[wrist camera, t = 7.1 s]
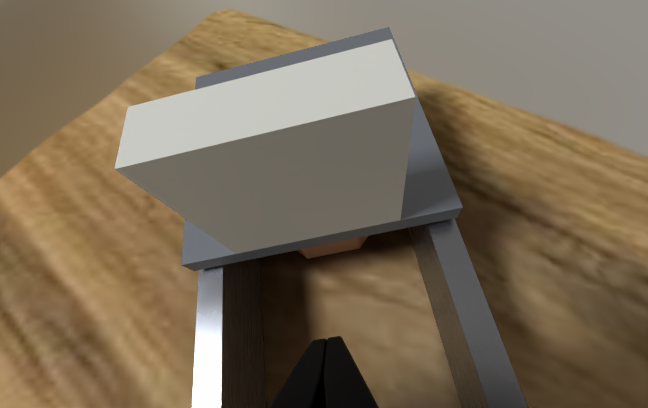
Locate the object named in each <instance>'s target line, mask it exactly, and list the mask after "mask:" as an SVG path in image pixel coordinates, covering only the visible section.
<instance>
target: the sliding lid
mask: <svg viewBox="0 0 648 408" xmlns="http://www.w3.org/2000/svg"><path fill="white" fill-rule="evenodd" d="M115 170H117V171H118V172H119V173H121V174H122V175H124V176H125V177H127V178H128V179H129V180H131V181H132V182H134V183H135V184H137V185H138V186H140V187H141V188H142V189H144V190H145V191H147V192H148V193H150V194H151V195H152V196H154V197H155V198H157V199H158V200H160V201H161V202H162V203H164V204H165V205H167V206H168V207H170V208H171V209H173V210H174V211H175V212H177V213H178V214H180V215H181V216H183V217H184V218H185V225H184V238H183V251H182V263H181V265H182V266H184V267H187V268H189V269H191V270H193V271H196V270H201V269H206V268H211V267H216V266H221V265H226V264H231V263H236V262H240V261H245V260H250V259H255V258H260V257H265V256H270V255H275V254H280V253H285V252H290V251H295V250H300V249H305V248H310V247H315V246H319V245H324V244H329V243H334V242H339V241H344V240H349V239H354V238H359V237H364V236H369V235H374V234H379V233H384V232H389V231H394V230H398V229H403V228H408V227H413V226H418V225H423V224H428V223H433V222H438V221H443V220H448V219H453V218H458V216H459V214H460V212H461V210H462V208H463V206H462V204H461V201H460V199H459V196H458V194H457V191H456V189H455V187H454V184H453V182H452V179H451V177H450V174H449V172H448V170H447V167H446V165H445V162H444V160H443V157H442V155H441V153H440V150H439V148H438V145H437V143H436V140H435V138H434V136H433V133H432V131H431V128H430V126H429V123H428V121H427V119H426V116H425V114H424V111H423V109H422V106H421V104H420V102H419V99H418V97H417V94H416V92H415V89H414V87H413V85H412V82H411V80H410V77H409V75H408V72H407V70H406V68H405V65H404V63H403V60H402V58H401V55H400V53H399V51H398V48H397V46H396V43H395V41H394V38H393V36H392V34H391V31H390V29H389V27H388V28H384V29H380V30H376V31H372V32H368V33H365V34H361V35H357V36H354V37H349V38H346V39H342V40H338V41H334V42H330V43H326V44H323V45H319V46H315V47H311V48H307V49H303V50H300V51H296V52H292V53H288V54H284V55H281V56H277V57H273V58H269V59H265V60H261V61H258V62H254V63H250V64H246V65H242V66H239V67H235V68H231V69H227V70H223V71H219V72H216V73H212V74H208V75H204V76H200V77H197V78H196V86H195V90H192V91H189V92H185V93H181V94H177V95H173V96H169V97H165V98H161V99H158V100H154V101H150V102H146V103H142V104H138V105H134V106H130V107H128V110H127V115H126V119H125V124H124V128H123V133H122V137H121V142H120V146H119V151H118V155H117V160H116V164H115Z"/></svg>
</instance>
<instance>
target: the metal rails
mask: <svg viewBox="0 0 648 408" xmlns="http://www.w3.org/2000/svg"><path fill="white" fill-rule="evenodd" d="M408 230H409V234H410V237H411V240H412V244H413V247H414V250H415V253H416V257H417V260H418V263H419V267H420V270H421V273H422V277H423V280H424V283H425V286H426V290H427V293H428V296H429V300H430V303H431V306H432V310H433V313H434V316H435V320H436V323H437V326H438V329H439V333H440V336H441V339H442V343H443V346H444V349H445V353H446V356H447V359H448V362H449V366H450V369H451V372H452V376H453V379H454V382H455V386H456V389H457V392H458V395H459V399H460V402H461V405H462V408H528V406H527V403H526V401H525V398H524V395H523V393H522V390H521V388H520V385H519V383H518V380H517V377H516V375H515V372H514V370H513V367H512V365H511V362H510V359H509V357H508V354H507V352H506V349H505V347H504V344H503V342H502V339H501V336H500V334H499V331H498V329H497V326H496V324H495V321H494V318H493V316H492V313H491V311H490V308H489V306H488V303H487V300H486V298H485V295H484V293H483V290H482V288H481V285H480V282H479V280H478V277H477V275H476V272H475V270H474V267H473V264H472V262H471V259H470V257H469V254H468V252H467V249H466V246H465V244H464V241H463V239H462V236H461V234H460V231H459V228H458V226H457V223H456V221H455V218H453V219H448V220H443V221H438V222H433V223H428V224H423V225H418V226H413V227H408ZM192 408H266V388H265V366H264V345H263V324H262V302H261V281H260V260H259V258H255V259H250V260H245V261H240V262H236V263H231V264H226V265H221V266H216V267H211V268H206V269H201V270H199V279H198V299H197V318H196V338H195V358H194V378H193V398H192Z"/></svg>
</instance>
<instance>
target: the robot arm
mask: <svg viewBox="0 0 648 408" xmlns="http://www.w3.org/2000/svg"><path fill="white" fill-rule="evenodd" d="M269 408H379V407H378V405H377V403H376V401H375V400H374V398H373V396H372V394H371V392H370V390H369V388H368V386H367V384H366V383H365V381H364V379H363V377H362V375H361V373H360V371H359V369H358V367H357V365H356V364H355V362H354V360H353V358H352V356H351V354H350V352H349V350H348V348H347V347H346V345H345V343H344V341H343V339H342V337H340V336H337V337H331V338H328V339H327V340H326V339H319V340H314V341H312V342H311V344H310V345H309V347H308V348H307V350H306V351H305V353H304V355H303V356H302V358H301V359H300V361H299V362H298V364H297V365H296V367H295V368H294V370H293V371H292V373H291V375H290V376H289V378H288V379H287V381H286V382H285V384H284V385H283V387H282V388H281V390H280V391H279V393H278V395H277V396H276V398H275V399H274V401H273V402H272V404H271V405H270V407H269Z"/></svg>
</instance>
